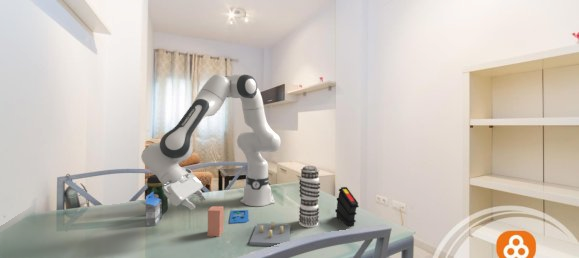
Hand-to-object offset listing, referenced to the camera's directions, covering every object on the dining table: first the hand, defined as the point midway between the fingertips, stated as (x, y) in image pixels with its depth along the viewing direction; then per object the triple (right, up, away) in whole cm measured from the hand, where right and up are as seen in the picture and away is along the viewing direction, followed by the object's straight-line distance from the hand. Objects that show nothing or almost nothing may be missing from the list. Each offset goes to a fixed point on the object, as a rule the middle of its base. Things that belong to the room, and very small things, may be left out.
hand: (199, 204), depth 95 cm
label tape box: (-23, -11, +10) cm, 28 cm away
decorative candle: (+44, -12, +12) cm, 47 cm away
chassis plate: (+28, -12, -1) cm, 31 cm away
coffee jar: (-28, -11, +21) cm, 37 cm away
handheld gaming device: (+12, -12, +18) cm, 24 cm away
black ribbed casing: (+61, -13, +14) cm, 64 cm away
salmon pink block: (+6, -12, 0) cm, 13 cm away
